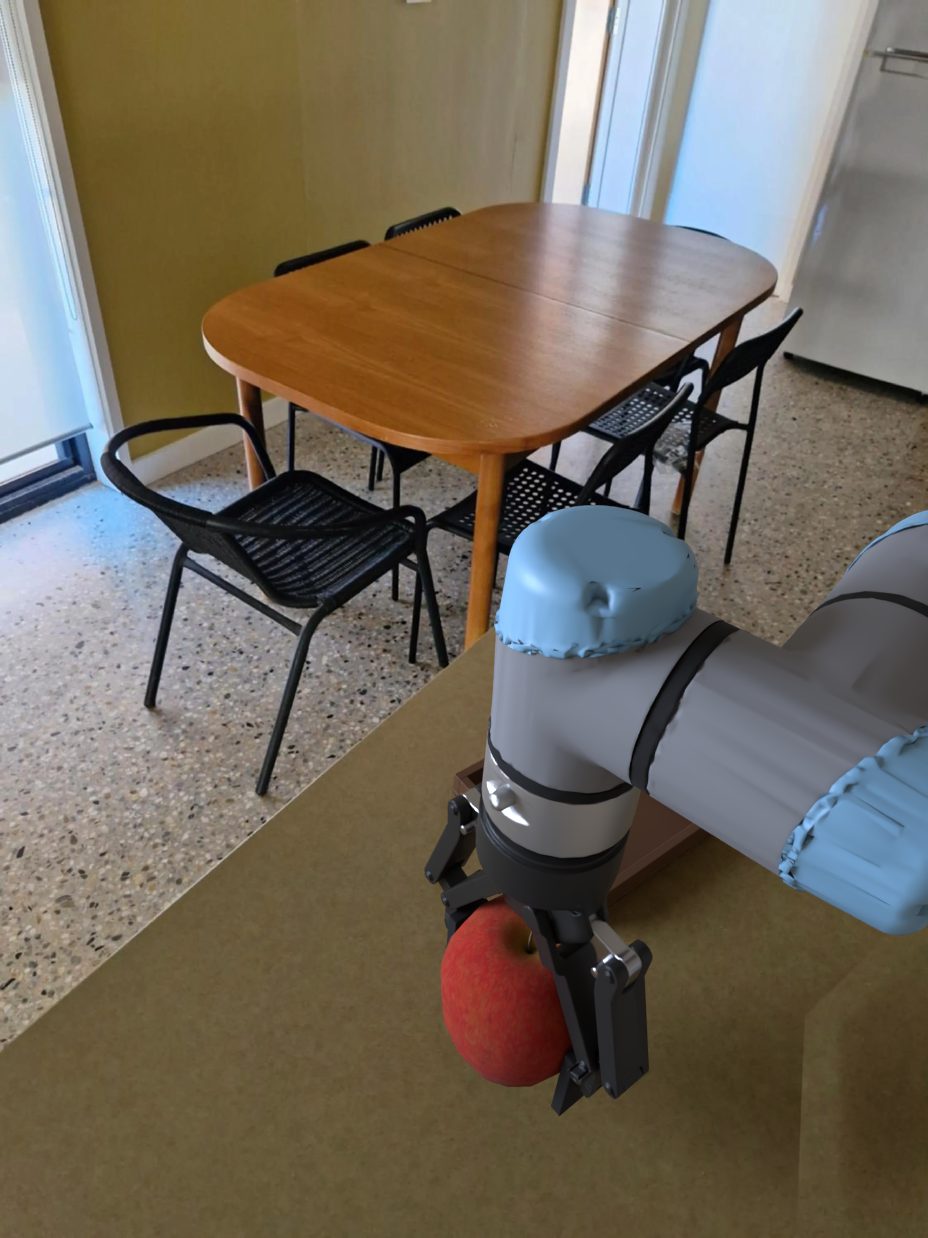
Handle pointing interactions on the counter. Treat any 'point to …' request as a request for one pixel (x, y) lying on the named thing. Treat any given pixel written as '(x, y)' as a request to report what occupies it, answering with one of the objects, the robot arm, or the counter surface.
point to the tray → (630, 836)
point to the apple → (502, 999)
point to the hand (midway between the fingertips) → (514, 1027)
